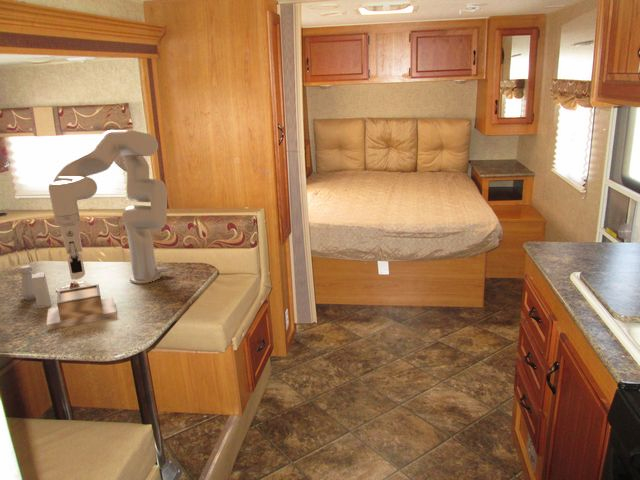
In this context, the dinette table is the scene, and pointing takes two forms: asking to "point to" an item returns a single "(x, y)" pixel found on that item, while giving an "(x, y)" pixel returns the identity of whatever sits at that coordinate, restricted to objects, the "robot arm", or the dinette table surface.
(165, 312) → the dinette table surface
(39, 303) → the skincare box
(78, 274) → the eye dropper bottle
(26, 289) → the salt shaker
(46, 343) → the dinette table surface
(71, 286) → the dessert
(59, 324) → the display plinth
